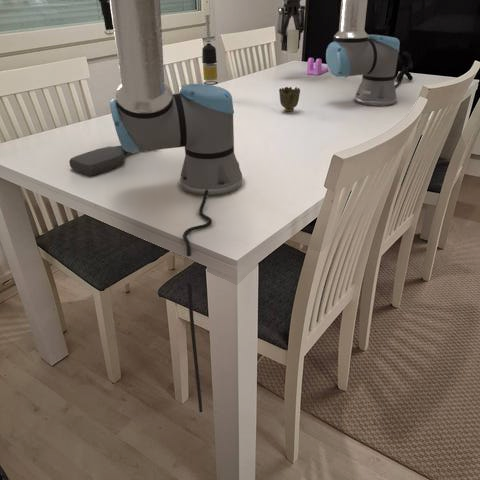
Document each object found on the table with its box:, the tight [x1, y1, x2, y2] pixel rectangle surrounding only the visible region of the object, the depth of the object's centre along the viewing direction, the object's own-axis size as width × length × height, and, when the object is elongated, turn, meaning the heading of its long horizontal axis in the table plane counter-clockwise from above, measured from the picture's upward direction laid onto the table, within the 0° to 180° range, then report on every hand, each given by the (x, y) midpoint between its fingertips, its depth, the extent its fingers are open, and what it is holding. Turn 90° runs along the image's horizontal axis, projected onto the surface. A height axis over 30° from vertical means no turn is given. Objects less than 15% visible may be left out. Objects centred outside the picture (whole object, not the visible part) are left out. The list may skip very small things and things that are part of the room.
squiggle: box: [394, 51, 414, 83], centre depth 198 cm, size 11×10×15 cm
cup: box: [278, 86, 301, 114], centre depth 159 cm, size 8×7×8 cm
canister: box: [282, 28, 299, 54], centre depth 197 cm, size 7×7×9 cm
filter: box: [201, 14, 219, 86], centre depth 171 cm, size 6×6×30 cm
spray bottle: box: [68, 145, 133, 177], centre depth 124 cm, size 3×11×24 cm
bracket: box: [306, 57, 329, 76], centre depth 216 cm, size 13×6×7 cm, turn 143°
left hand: (127, 31), depth 117 cm, fingers open, 13 cm apart
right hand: (290, 49), depth 199 cm, fingers closed on canister, 7 cm apart
